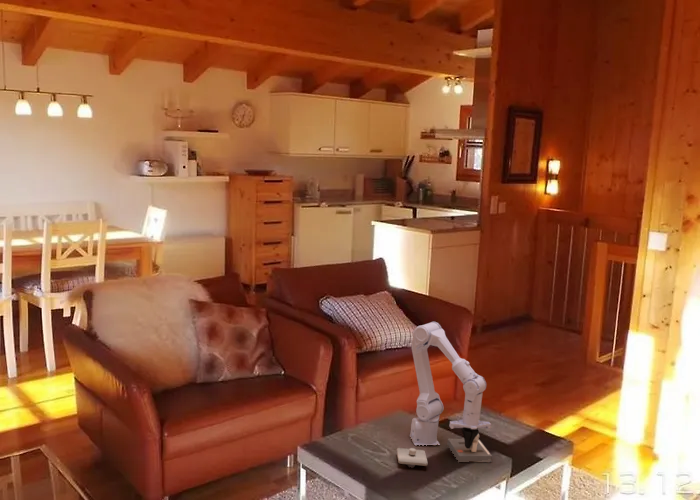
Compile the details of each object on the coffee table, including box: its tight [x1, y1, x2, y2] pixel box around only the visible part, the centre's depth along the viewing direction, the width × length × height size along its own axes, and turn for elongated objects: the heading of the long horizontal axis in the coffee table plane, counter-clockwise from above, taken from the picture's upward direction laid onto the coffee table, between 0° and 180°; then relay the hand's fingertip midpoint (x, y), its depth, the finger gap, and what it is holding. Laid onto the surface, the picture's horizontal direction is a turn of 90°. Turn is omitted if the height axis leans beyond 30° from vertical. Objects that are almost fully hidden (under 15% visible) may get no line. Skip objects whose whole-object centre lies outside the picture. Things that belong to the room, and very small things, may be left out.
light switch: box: [396, 447, 428, 469], centre depth 222 cm, size 10×10×5 cm
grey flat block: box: [446, 438, 493, 463], centre depth 233 cm, size 12×13×2 cm
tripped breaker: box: [470, 439, 478, 452], centre depth 229 cm, size 2×3×4 cm
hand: (467, 447), depth 229 cm, fingers closed
